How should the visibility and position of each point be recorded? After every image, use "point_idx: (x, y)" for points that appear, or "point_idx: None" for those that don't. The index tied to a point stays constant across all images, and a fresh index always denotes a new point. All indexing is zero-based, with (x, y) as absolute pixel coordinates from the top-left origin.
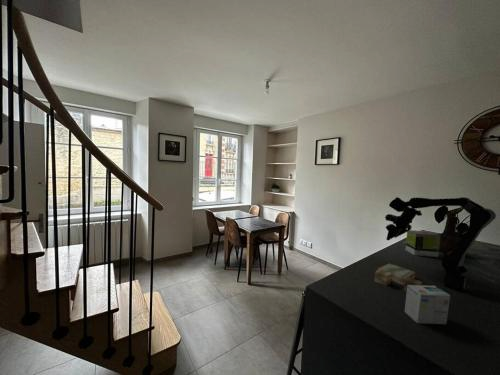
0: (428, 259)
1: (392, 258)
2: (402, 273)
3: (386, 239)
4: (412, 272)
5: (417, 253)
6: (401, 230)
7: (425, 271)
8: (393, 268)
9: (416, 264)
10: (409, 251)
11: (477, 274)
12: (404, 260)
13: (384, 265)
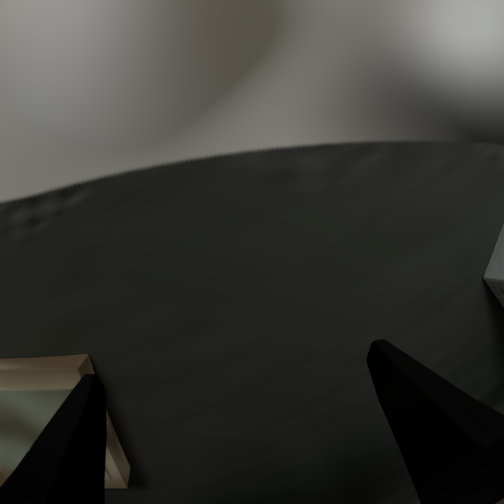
0: (477, 339)
1: (321, 257)
2: None
3: (87, 374)
4: (106, 483)
5: (495, 288)
6: (451, 490)
7: (291, 447)
8: (29, 422)
9: (360, 376)
10: (500, 241)
11: None
12: (362, 312)
13: (15, 372)
